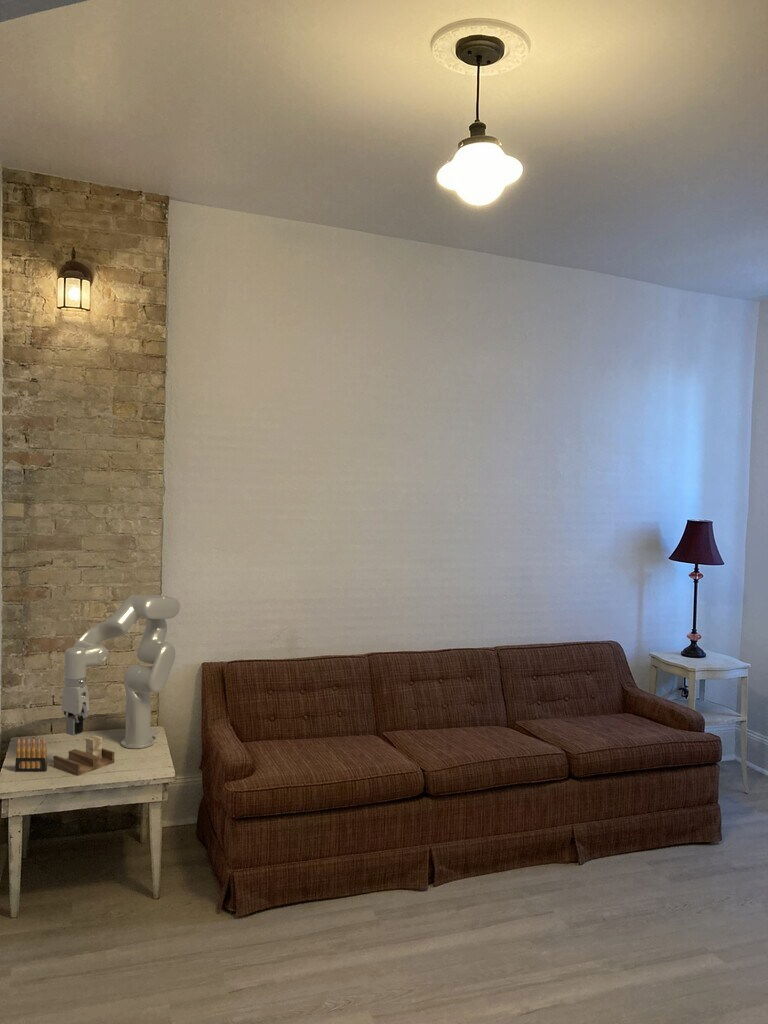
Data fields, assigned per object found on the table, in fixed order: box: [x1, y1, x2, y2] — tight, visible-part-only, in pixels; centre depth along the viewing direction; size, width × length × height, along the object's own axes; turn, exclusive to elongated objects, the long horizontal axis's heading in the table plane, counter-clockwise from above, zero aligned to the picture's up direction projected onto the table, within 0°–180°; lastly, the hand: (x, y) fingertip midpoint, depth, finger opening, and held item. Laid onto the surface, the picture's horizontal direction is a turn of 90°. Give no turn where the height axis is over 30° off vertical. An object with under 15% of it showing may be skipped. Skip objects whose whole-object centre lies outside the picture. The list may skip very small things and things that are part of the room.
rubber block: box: [65, 714, 84, 737], centre depth 299 cm, size 4×4×6 cm
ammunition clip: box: [14, 737, 48, 773], centre depth 296 cm, size 11×2×12 cm, turn 96°
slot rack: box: [52, 747, 115, 777], centre depth 303 cm, size 16×14×4 cm
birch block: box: [85, 734, 103, 759], centre depth 307 cm, size 4×4×8 cm
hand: (74, 730), depth 299 cm, fingers closed on rubber block, 4 cm apart
